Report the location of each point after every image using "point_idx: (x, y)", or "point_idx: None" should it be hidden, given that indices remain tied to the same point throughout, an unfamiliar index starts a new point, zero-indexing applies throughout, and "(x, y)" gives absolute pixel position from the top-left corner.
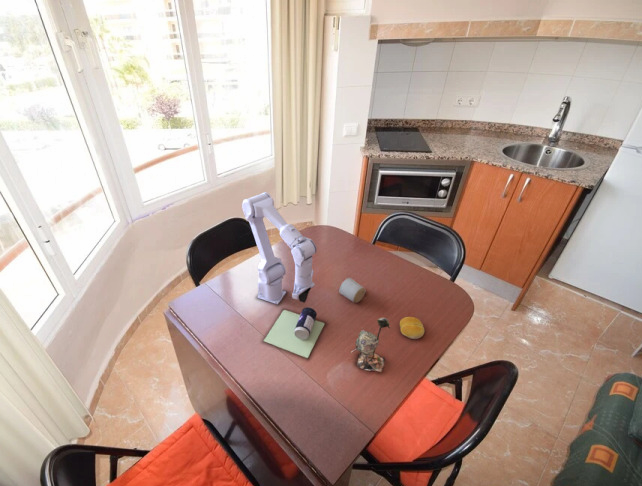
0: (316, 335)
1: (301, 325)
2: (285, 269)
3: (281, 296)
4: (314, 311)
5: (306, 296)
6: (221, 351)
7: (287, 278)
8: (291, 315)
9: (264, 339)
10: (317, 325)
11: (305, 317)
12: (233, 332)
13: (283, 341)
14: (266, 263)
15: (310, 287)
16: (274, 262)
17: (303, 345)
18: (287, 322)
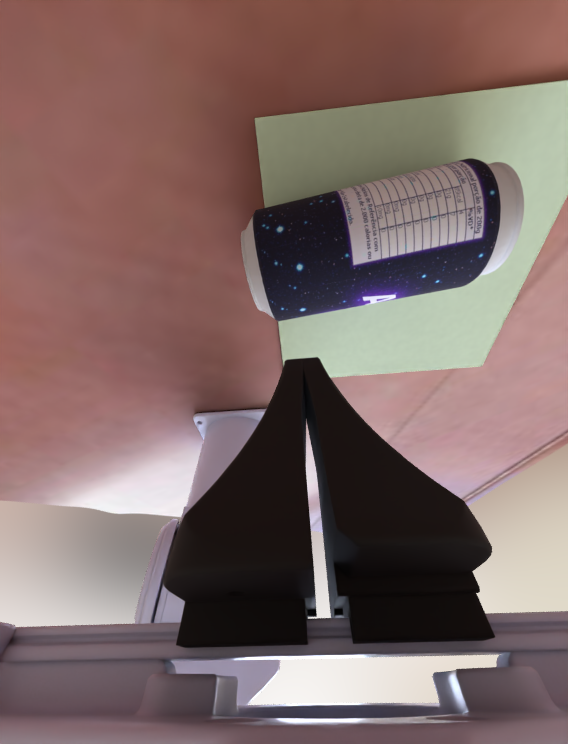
0: (394, 121)
1: (476, 256)
2: (152, 576)
3: (229, 418)
4: (268, 236)
5: (333, 412)
6: (533, 435)
7: (126, 437)
8: (300, 341)
9: (473, 366)
10: (300, 167)
11: (383, 269)
12: (449, 445)
13: (478, 296)
14: (245, 700)
15: (296, 573)
16: (189, 672)
17: None
18: (350, 336)
